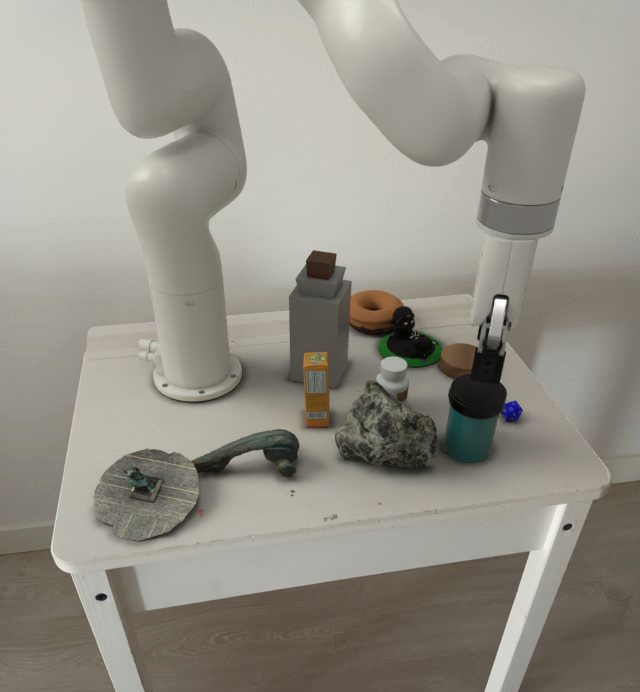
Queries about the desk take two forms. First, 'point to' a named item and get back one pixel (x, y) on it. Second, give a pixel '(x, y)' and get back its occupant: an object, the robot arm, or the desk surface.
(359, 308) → the donut
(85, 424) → the desk surface
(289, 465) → the decorative handle
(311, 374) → the supplement box
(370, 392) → the rock
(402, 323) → the toy figurine
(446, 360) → the brown round disc
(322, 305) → the perfume bottle
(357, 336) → the desk surface
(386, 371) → the pill bottle
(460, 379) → the lid
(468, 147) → the robot arm
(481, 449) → the jar
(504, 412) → the die
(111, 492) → the sculpture
